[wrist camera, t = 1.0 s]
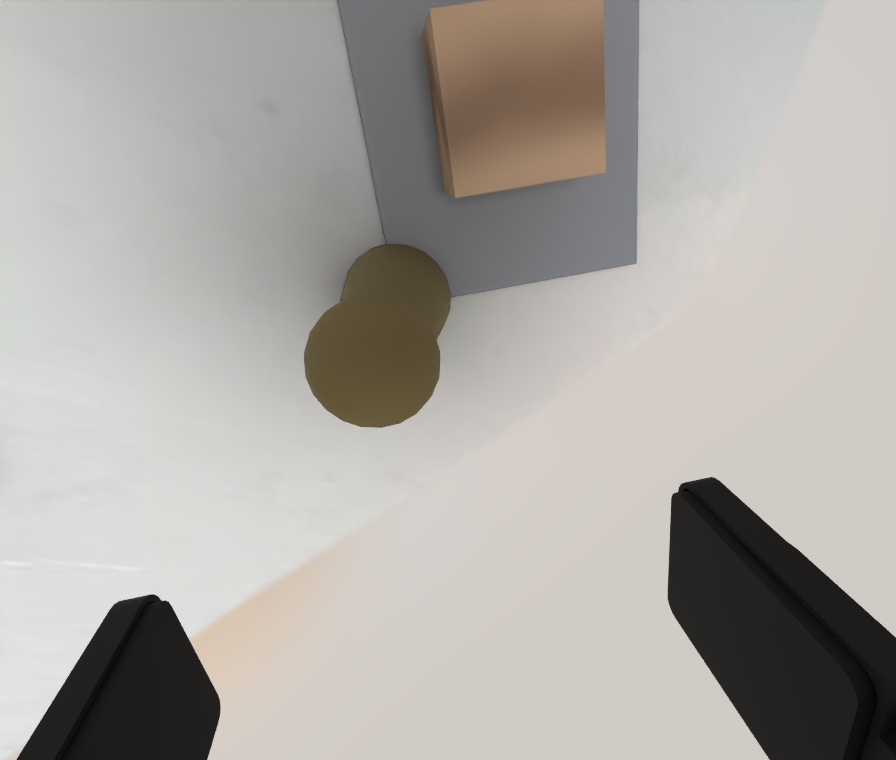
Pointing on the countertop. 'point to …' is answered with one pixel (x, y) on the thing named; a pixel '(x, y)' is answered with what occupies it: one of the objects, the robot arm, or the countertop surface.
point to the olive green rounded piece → (380, 338)
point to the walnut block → (516, 92)
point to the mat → (501, 212)
